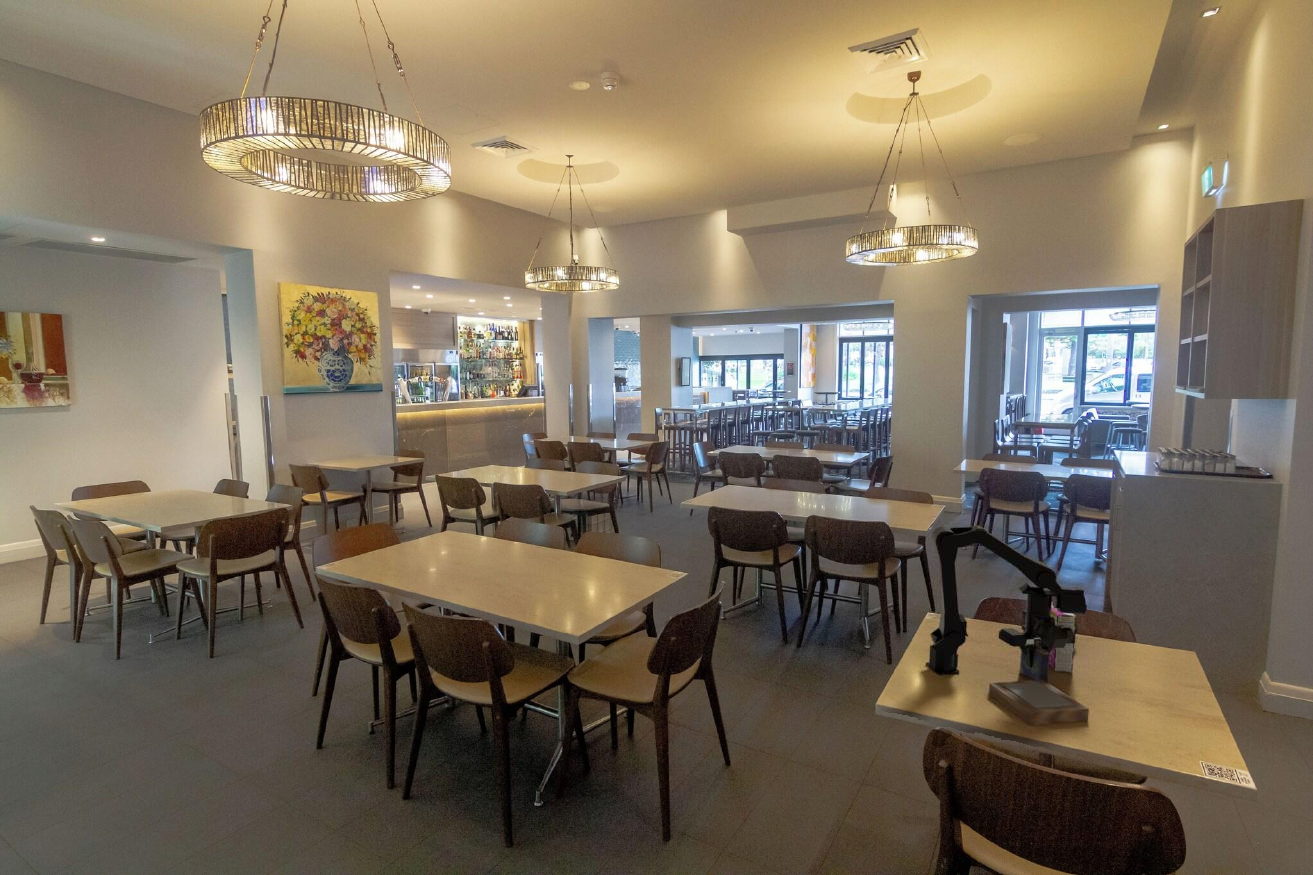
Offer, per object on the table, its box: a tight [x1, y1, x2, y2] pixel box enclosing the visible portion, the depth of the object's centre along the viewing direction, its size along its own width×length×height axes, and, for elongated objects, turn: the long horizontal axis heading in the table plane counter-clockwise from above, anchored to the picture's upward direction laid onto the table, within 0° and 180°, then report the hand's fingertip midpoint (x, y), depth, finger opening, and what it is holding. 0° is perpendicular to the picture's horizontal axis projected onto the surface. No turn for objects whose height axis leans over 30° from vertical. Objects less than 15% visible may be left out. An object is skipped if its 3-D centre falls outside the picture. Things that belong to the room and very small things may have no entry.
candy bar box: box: [1049, 605, 1077, 674], centre depth 184 cm, size 11×5×16 cm, turn 168°
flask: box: [1018, 641, 1050, 683], centre depth 175 cm, size 9×3×11 cm, turn 8°
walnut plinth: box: [988, 679, 1090, 726], centre depth 161 cm, size 15×15×3 cm
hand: (1034, 666), depth 175 cm, fingers closed on flask, 3 cm apart
